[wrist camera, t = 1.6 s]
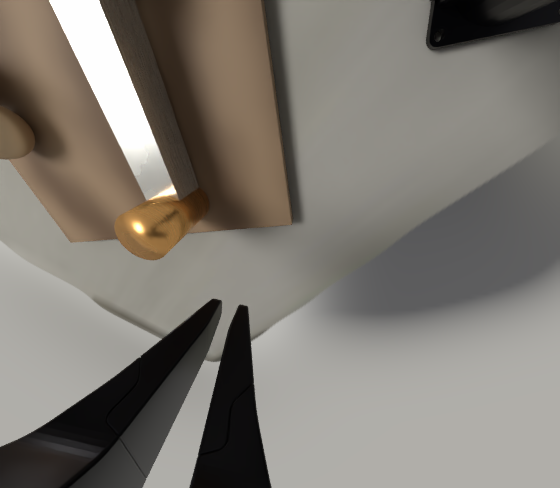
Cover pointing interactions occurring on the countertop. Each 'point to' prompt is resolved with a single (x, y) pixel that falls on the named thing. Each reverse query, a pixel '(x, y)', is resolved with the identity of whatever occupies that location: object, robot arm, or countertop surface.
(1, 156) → the dough ball
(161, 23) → the board
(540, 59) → the countertop surface
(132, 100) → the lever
